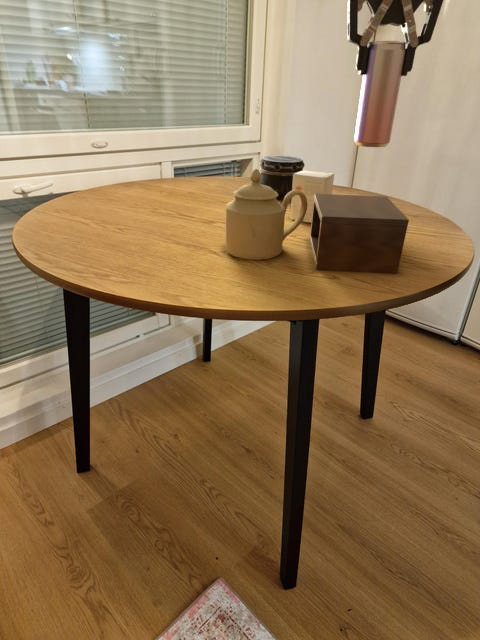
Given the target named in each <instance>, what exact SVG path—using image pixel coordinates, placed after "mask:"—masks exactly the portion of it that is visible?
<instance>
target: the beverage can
mask: <svg viewBox="0 0 480 640" xmlns="http://www.w3.org/2000/svg"><path fill="white" fill-rule="evenodd" d="M368 47H369V49H368V56H367V63H366V70H365V74H364V75H362V82H361V87H360V95H359V101H358V110H357V116H356V124H355V131H354V139H353V141H354V144H355V146H357V147H365V148H386V147H387V146H388V145H389V144H390V143H391V137H392V132H393V125H394V119H395V115H396V109H397V104H398V98H399V94H400V93H399V92H400V87H401V82H402V77H403V76H402V71H403V65H404V59H405V54H406V42H405V41H404V40H403V41H402V40H374V41H369V43H368Z"/></svg>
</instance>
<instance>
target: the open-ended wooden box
mask: <svg viewBox="0 0 480 640" xmlns="http://www.w3.org/2000/svg"><path fill="white" fill-rule="evenodd" d="M409 222H410V219H409V218H408V217H407V216H406V215H405V214H404V213H403V212H402V211H401V210H400V208H398V206H397V205H396V204H394V202H392V200H390V198H389V197H388V196H385V195H384V196H383V195H358V194H357V195H354V194H332V195H331V194H314V203H313V213H312V223H311V224H310V233H309V242H310V247H311V252H312V257H313V262H314V267H315V270H318V271H337V272H339V271H340V272H359V273H361V272H362V273H381V274H383V273H384V274H385V273H386V274H398V272H399V268H400V262H401V258H402V253H403V249H404V244H405V239H406V235H407V231H408V227H409Z"/></svg>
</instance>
